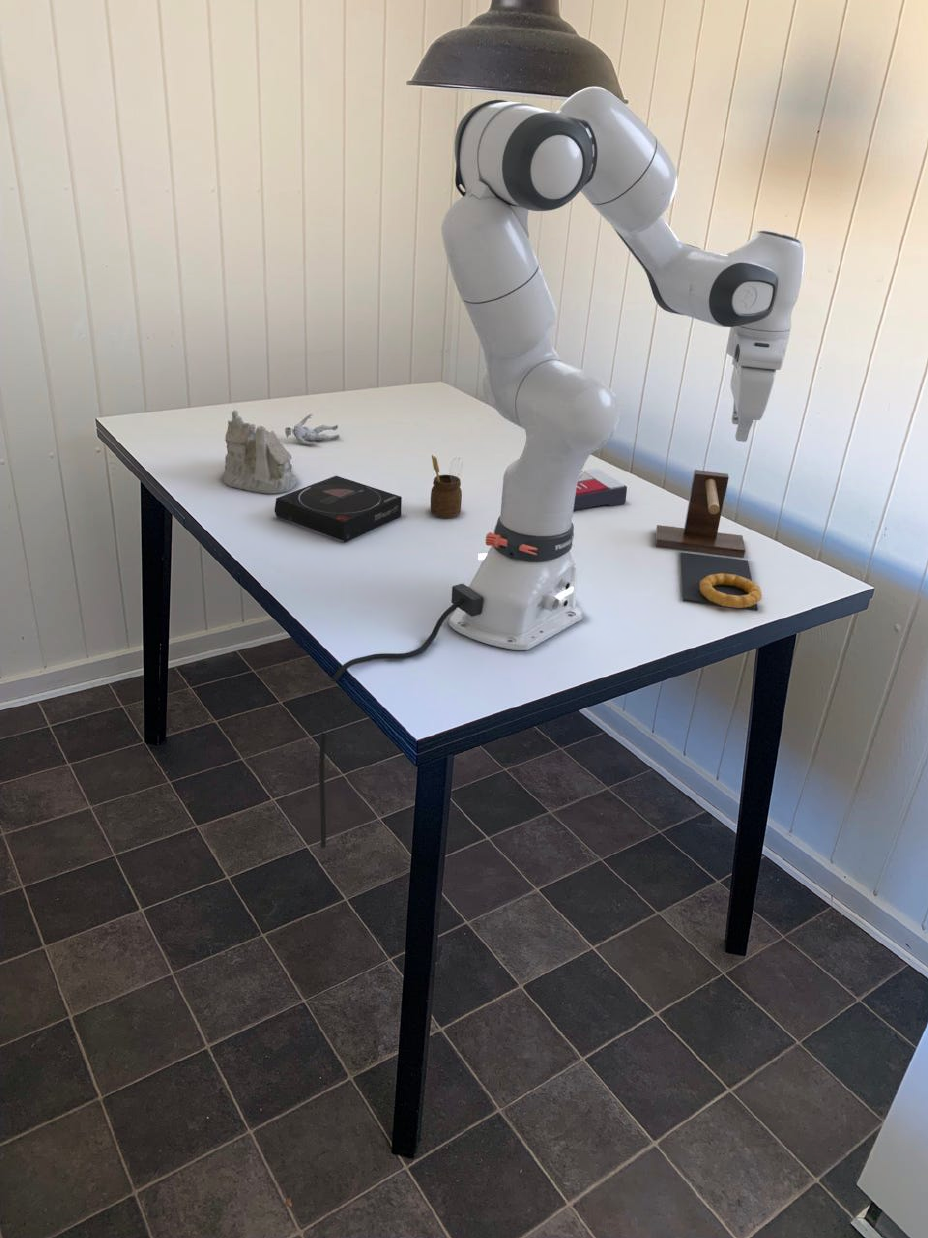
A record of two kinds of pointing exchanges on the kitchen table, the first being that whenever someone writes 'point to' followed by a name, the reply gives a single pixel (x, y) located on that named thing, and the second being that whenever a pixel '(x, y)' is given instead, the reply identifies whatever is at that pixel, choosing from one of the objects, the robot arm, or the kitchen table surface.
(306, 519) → the portable cd player
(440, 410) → the kitchen table surface
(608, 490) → the calculator
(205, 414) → the kitchen table surface
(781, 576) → the kitchen table surface
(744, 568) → the mat
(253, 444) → the ceramic cottage
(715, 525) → the rack
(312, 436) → the soldier figure
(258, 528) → the kitchen table surface
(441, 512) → the utensil holder
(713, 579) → the ring
